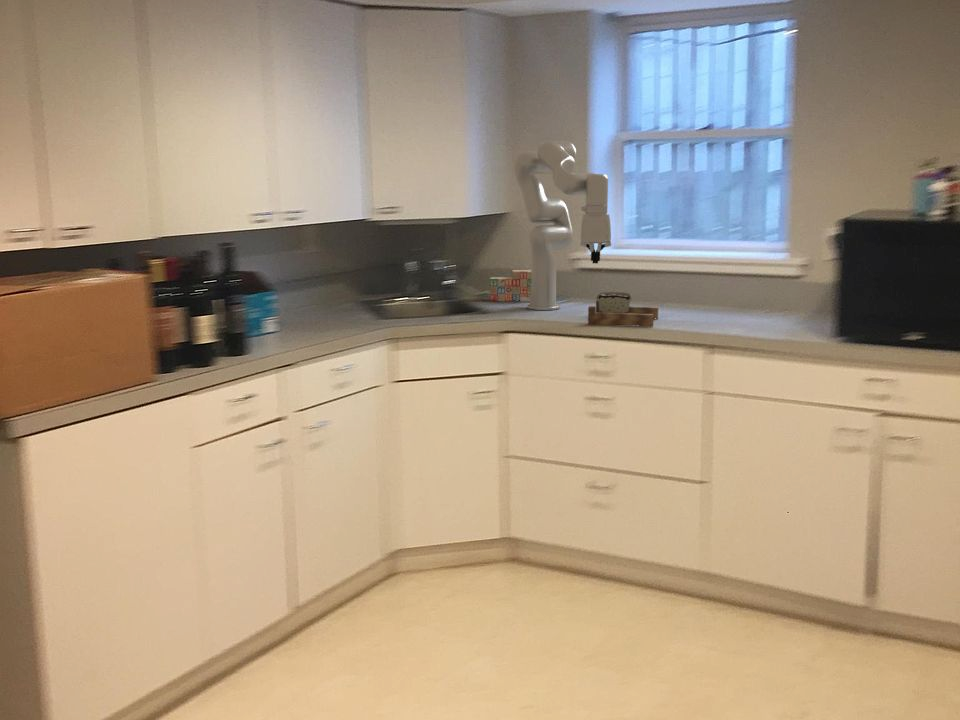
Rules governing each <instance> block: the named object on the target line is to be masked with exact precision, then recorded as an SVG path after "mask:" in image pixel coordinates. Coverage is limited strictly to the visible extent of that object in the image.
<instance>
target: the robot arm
mask: <svg viewBox="0 0 960 720" xmlns="http://www.w3.org/2000/svg"><path fill="white" fill-rule="evenodd" d="M576 157H577V149H576V147H575V145H574V144H573V143H572V142H571V141H566V140H564V141H563V140H561V141H560V140H559V141H557V140H552V141H551V140H550V141H549V140H548V141H545V142H543V143H541V144H540V145H539V146H538V148H537V150H532V151H523V152H521V153H519V154H517V156H516V157H515V161H514V166H513V167H514V168H513V170H514V175H515V176H514V177H515V179H516V182H517V184H518V186H519V189H520V191H521V194H522V199H523V202H524V203H523V204H524V206H525V212H526V216H527V218H528V220H529V222H531V223H532V224H535V225H537V224H539V225H537V226H534V227H532V228H531V230H530V231H529V233H528V243H529V249H530V259H531V261H530V264H531V265H530V268H531V269H530V270H531V296H530V297H529V298H526V297H521V298H520V301H519V302H520V303H528V304H527V306H526V307H527V309H529V310H534V311H552V310H554V311H555V310H559V309H560V308H561V305H560V304H558V303H557V261H556V260H557V259H556V257H555V256H554V254H553V252H552V251H559V250H560V251H561V250H568V249H570V248H571V247H572V246H573V244H574V238H575V236H574V232H573V231H574V230H573V227H572V222H571V218H570V213H569V209H568V206H567V205H566V203H565V202H564V200H562V199H561V198H557V197H555V198H553V197H552V198H551V197H550V198H548V197H547V196H546V193H545V188H544V186H543V184H542V182H541V181H540V180H539V179H538V177H536V176H535V175H551V174H552V180H553V183H554V186H555V187H556V188H557V189H559V191H561V192H562V193H563V194H565V195H567V196H582V195H583V196H585V205H584V206H581V211H583V212H584V213H583V215H582V219H581V227H580V228H581V229H580V244H579V245H580V246H582V247H585V248H587V250H589V251H590V261H591V262H592V264H599V262H601V251H602V250H604V248H608V247H611V246H612V242H611V237H612V234H611V233H612V232H611V231H612V227H611V217H610V214H608V199H609V193H608V192H609V177H608V175H607V174H603V173H595V172H594V173H592V172H578V173H577V172H575V173H573V171H574V170H575V167H576V161H575V160H576ZM540 224H541V225H540ZM544 224H545V225H544ZM595 244H597V246H596V249H595Z"/></svg>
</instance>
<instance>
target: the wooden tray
mask: <svg viewBox="0 0 960 720" xmlns="http://www.w3.org/2000/svg"><path fill="white" fill-rule="evenodd" d="M587 310H588V313H587V315H588V316H587V318H588V319H587V325H588V326H589V325H590V326H594V325H595V326H596V325H597V326H619V325H639V326H638V327H647V326H653V327H654V319H653V318H656V319H655V320H658V319H659V307H658V306H635V305H634V306H633V305H632V306H631V305H629V312H628V313H602V312H600V311H599V300H598V299H596V301H595V306H594V305H590V306H589V307H588V309H587Z"/></svg>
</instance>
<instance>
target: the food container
mask: <svg viewBox="0 0 960 720" xmlns="http://www.w3.org/2000/svg"><path fill="white" fill-rule="evenodd" d="M596 300H599V311H600V312H602V313H628V312H629V306H630V304H631V303H630V302H631V301H632V300H633V298H632V295H631V293H628V292H625V291H624V292H621V291H605V292H604V291H603V292H598V293H597V296H596Z"/></svg>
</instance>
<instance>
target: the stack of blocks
mask: <svg viewBox="0 0 960 720" xmlns="http://www.w3.org/2000/svg"><path fill="white" fill-rule="evenodd" d="M511 272H512V273H511V277H510V276H508V277H506V276H501V277H500V276H491V277H490V278H489V301H490V302H513V301H512V300H520V298H521V297H526V298H529V297H530V296H531V269H512V271H511ZM510 300H511V301H510Z"/></svg>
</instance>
